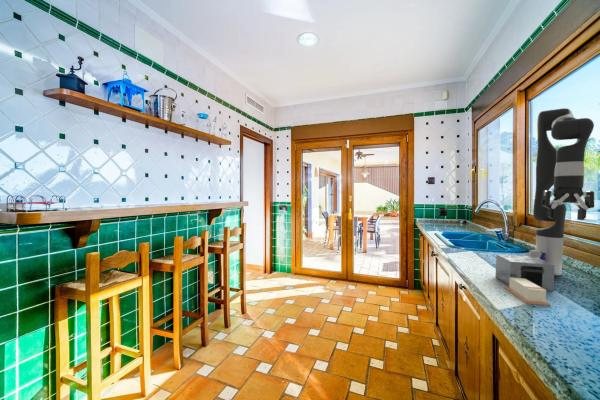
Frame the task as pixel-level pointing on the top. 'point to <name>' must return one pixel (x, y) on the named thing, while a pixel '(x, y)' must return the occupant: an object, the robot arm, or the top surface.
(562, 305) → the top surface
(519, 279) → the cream box
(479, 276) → the top surface
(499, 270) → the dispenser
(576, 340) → the top surface
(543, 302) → the tile
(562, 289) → the top surface
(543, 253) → the energy drink
